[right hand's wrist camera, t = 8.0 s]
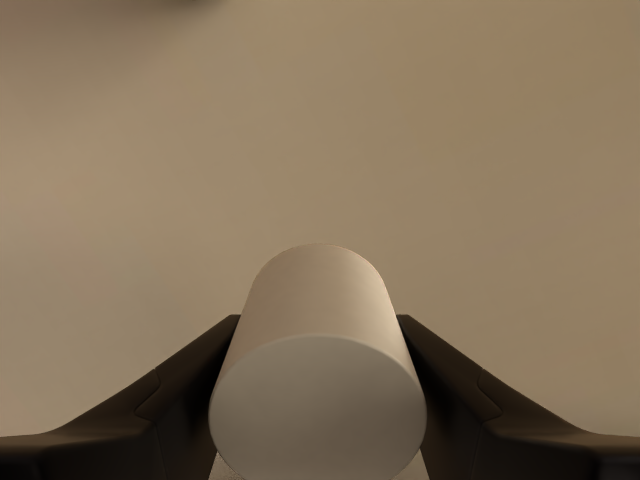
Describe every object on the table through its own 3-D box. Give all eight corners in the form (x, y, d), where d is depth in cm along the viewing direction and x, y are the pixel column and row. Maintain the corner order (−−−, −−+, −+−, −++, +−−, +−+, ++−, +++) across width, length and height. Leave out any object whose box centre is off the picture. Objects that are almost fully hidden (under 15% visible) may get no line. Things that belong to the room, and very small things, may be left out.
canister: (360, 377, 14) (382, 519, 9) (235, 345, 13) (189, 478, 8) (409, 266, 12) (465, 368, 7) (268, 225, 11) (233, 307, 7)
